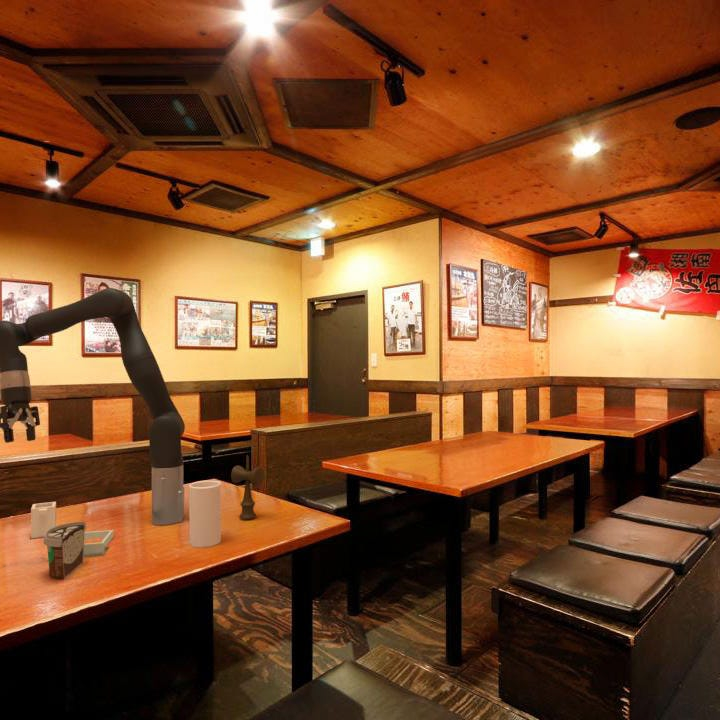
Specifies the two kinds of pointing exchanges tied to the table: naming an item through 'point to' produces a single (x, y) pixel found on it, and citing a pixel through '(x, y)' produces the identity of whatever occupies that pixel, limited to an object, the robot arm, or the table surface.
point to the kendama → (248, 487)
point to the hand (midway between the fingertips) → (20, 441)
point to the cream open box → (42, 518)
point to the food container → (65, 548)
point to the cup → (205, 513)
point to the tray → (100, 547)
